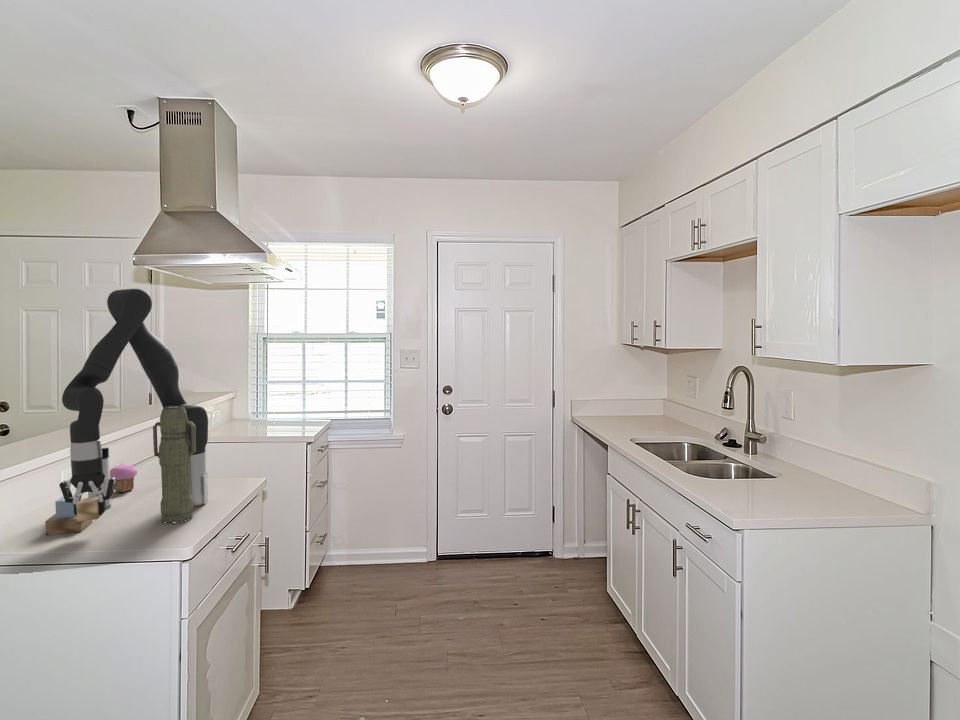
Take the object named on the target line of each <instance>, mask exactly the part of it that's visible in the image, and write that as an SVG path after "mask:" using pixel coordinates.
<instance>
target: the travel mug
mask: <svg viewBox="0 0 960 720" xmlns="http://www.w3.org/2000/svg"><path fill="white" fill-rule="evenodd" d="M102 461H103V473H104V475H105V477H109V478H110V470H111V468H110V466H111V465H110V451H109V447H102ZM101 487H102V488H103V492H104V494H105V495H106V492H107V487H108V485H106V482H105V481H104V482H103V483H102V485H101ZM95 497H96V496H95V494H94V492H87V498H95ZM111 507H112V497H111V498H110V499H108V500H106V510H109V509H110V508H111Z"/></svg>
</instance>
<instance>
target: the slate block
mask: <svg viewBox="0 0 960 720" xmlns="http://www.w3.org/2000/svg"><path fill="white" fill-rule="evenodd" d="M72 496H73V497H74V495H72ZM54 502H55V514H56V518H69V517H76V515H75V514H74V506H73V504H72V503H66V502H65V499H64V497H63V496H61V497H60V498H58V499H57V500H55V501H54Z"/></svg>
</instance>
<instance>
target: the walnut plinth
mask: <svg viewBox="0 0 960 720" xmlns="http://www.w3.org/2000/svg"><path fill="white" fill-rule="evenodd" d="M44 522H45V523H44V524H45V525H44V528H45V535H46V534H51V535H61V534H60V533H63V534H72V533H73V534H74V533H75V534H76V533H82V532H83V531H85V529H87V528H88V527H90V525H92V523H93V520H85V521H77V516H76V517H69V518H56V513H54V514H53V515H52V516H51V517H48V519H46V520H45V521H44Z"/></svg>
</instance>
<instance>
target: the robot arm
mask: <svg viewBox="0 0 960 720" xmlns="http://www.w3.org/2000/svg"><path fill="white" fill-rule="evenodd" d="M152 300H153V299H152V297H151V295H150V293H148V292H147V291H146V290H144V289H141V288H126V289H117V290H113V291H112V292H111V293H109V294H108V296H107V300H106V303H107V309H108V311H109V313H110V315H111V317H112V318H113V320H114V322H115V324H114V325H113V326H112V327H111V328H110V330H109V331H108V332H107V333H106V334H105V335H104V336H103V337H102V338H101V339H100V340H98V342H97V344H95V346H94V347H93V349H92V350H91V351H90V353H89V355H88V357H87V359H86V360H85V363H84V364H83V366H82V369H80V371H78V373H76V375H75V376H74V377H73V379H72V380H71V381H70V382H69V383H68V385H67V386H66V387H65V389H64V390H63V393H62V396H61V397H62V398H61V402H62V405H63V407H64V408H65V409H67V410H69V411H75V412H78V416H77V419H75V420H74V421H72V422H71V423H70V425H69V436H70V437H69V438H70V447H69V448H70V449H69V453H70V454H69V455H70V465H71V466H70V467H71V478H70V479H69V480H63V481H62V482H60V483H59V484H58V485H59V488H60V491H61V493H62V497H64V499H65V502H66V503H72V504H73V506H74V514H75V515H76V516H77V509H76V503H78V502H79V501H80V500H81V499H82V497H83V494H85V493H88V492H94V494H95V496H96V497H97V499H98V501H99V503H98V508H99V515H102V514H103V515H104V513H105V512H106V510H107V509H106V500H108V499H110V498H111V499H112V497H113V495H114V492H115V490H114V487H115V482H116V478H115V477H112V478H109V477H105V475H104V473H103V461H102V448H103V447H102V442H101V436H100V435H101V433H100V423H101V418H102V414H103V409H104V408H103V407H104V400H105V399H104V396H103V394H102V391H100V389H98V388H97V386H98V385H99V384H103V383H105V382H106V381H108V380H109V378H110V377H111V375H112V373H113V370H114V368H115V366H116V364H117V362H118V360H119V358H120V356H121V354H122V353H123V351H124V349H125V348H126V347H127V345H128V343H129V345H130V347H131V348H132V349H133V352H134V353H135V355H136V357H137V359H138V361H139V363H140V365H141V367H142V369H143V371H144V373H145V375H146V376H147V378H148V381H150V384H151V386H152V387H153V389H154V392H155V393H156V395H157V397H158V399H159V401H160V404H161V407H162V409H163V408H165V407H167V406H182V407H185V410H186V412H187V415H188V420H189V421H192V422H193V423H194V424H195V426H196V452H195V453H194V454H193V455H191V463H190V487H191V495H192V498H193V507H198V506H202V505H206V504H207V502H208V501H209V485H208V484H209V482H208V472H207V464H206V463H207V460H206V458H207V457H206V455H207V454H206V447H207V443H208V440H209V439H208V438H209V418H208V413H207V411H206V409H205V408H204V407H203V406H200V405H196V404H195V405H194V404H188V403H187V402H186V400H185V399H184V396H183V395H182V393H181V390H180V387H179V380H180V379H179V368H178V365H177V363H176V361H175V358H174V356H173V354H172V352H171V351H170V349H169V348H168V347H167V345H166V344H165V343H164V342H162V340H160V339H159V338H158V337H157V336H156V335H155V334H154V333H153V332H152V331H151V330H150V329H149V328H148V326H146V324H145V322H144V321H145V320H146V318H147V317H148V316H149V314H150V312H151V310H152V308H153V301H152ZM188 439H189V442H190V444H191V426H190V425H189V424H188ZM191 450H192V444H191ZM104 481H105V482H106V485H108V487H107V492H106V495H105V494H104V492H103V488H102V487H101V485H102V483H103V482H104ZM72 486H73V487H74V488H75V489H76V490H75V492H74V495H73V493H72V491H71V487H72ZM73 496H74V497H73ZM103 515H102V516H103Z"/></svg>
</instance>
